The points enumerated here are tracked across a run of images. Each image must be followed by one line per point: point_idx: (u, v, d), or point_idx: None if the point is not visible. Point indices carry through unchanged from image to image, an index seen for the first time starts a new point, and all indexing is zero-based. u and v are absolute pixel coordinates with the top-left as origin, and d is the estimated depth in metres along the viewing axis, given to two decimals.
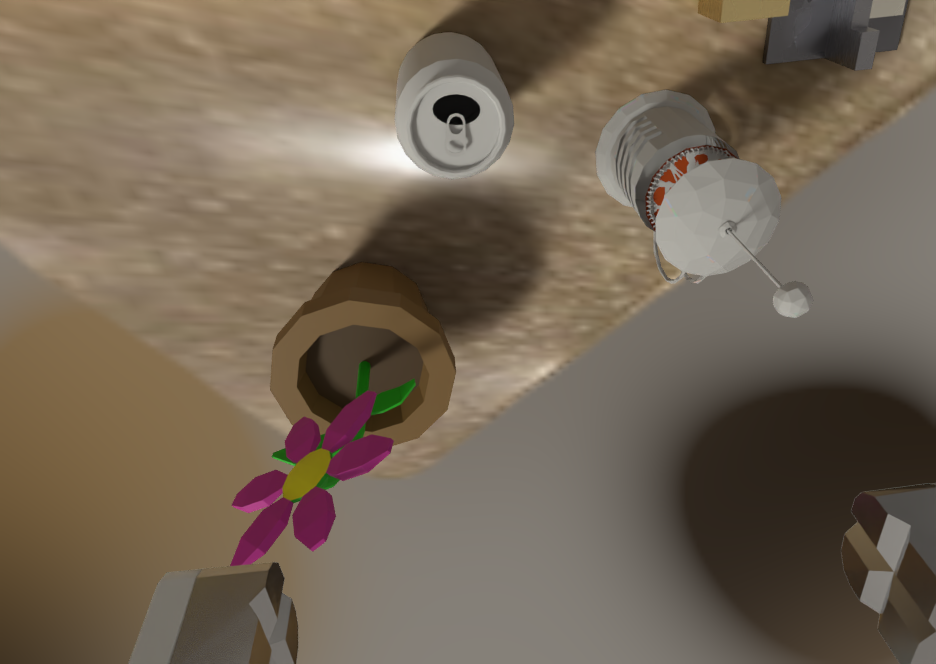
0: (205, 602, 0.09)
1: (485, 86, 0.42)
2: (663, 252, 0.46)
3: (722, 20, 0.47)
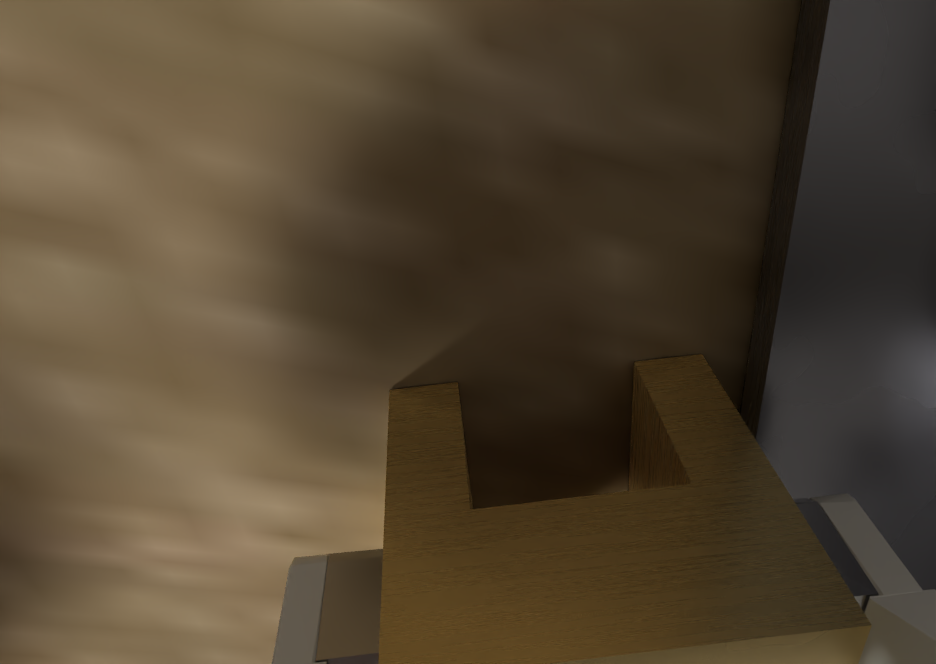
0: (341, 586, 0.09)
1: None
2: None
3: None
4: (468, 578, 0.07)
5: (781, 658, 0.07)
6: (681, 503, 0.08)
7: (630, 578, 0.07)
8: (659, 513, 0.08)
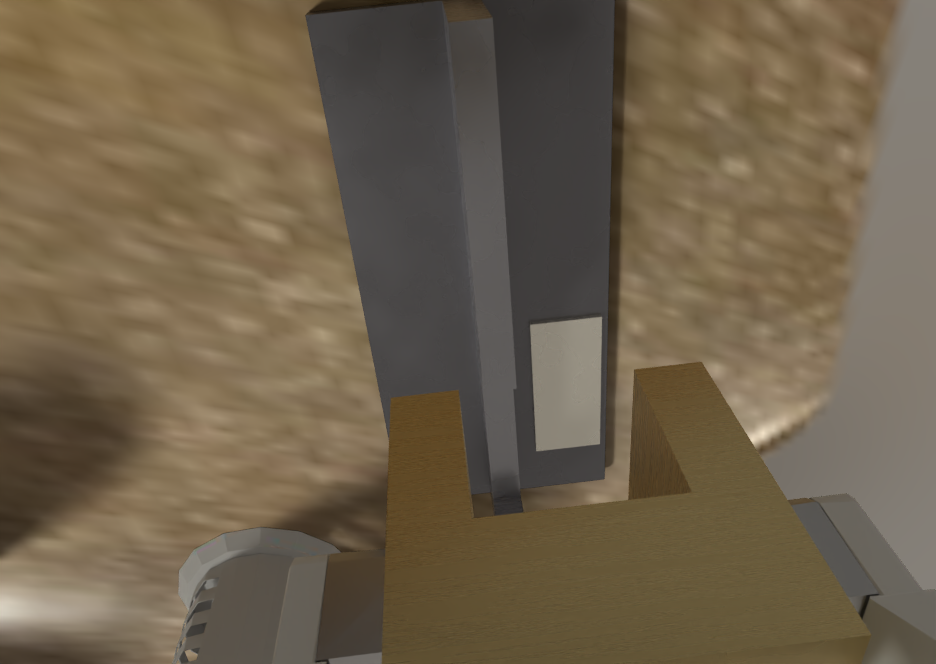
0: (341, 586, 0.09)
1: None
2: None
3: None
4: (470, 588, 0.07)
5: None
6: (681, 512, 0.08)
7: (631, 588, 0.07)
8: (660, 522, 0.08)
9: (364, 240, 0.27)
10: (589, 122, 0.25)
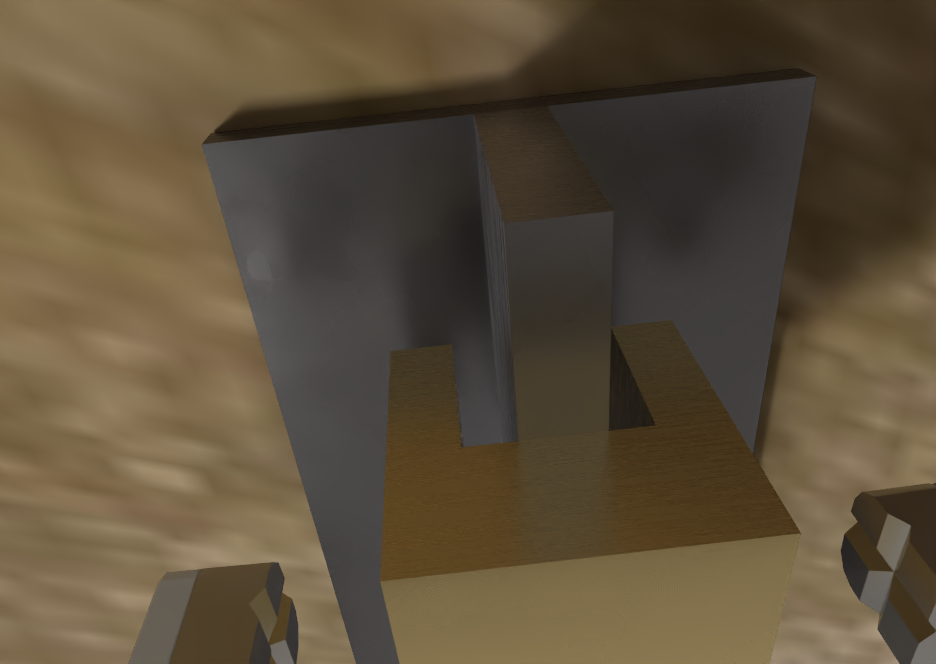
0: (205, 602, 0.09)
1: None
2: None
3: None
4: (458, 501, 0.09)
5: (725, 563, 0.08)
6: (645, 441, 0.09)
7: (598, 499, 0.08)
8: (626, 449, 0.09)
9: (332, 496, 0.16)
10: (736, 315, 0.14)
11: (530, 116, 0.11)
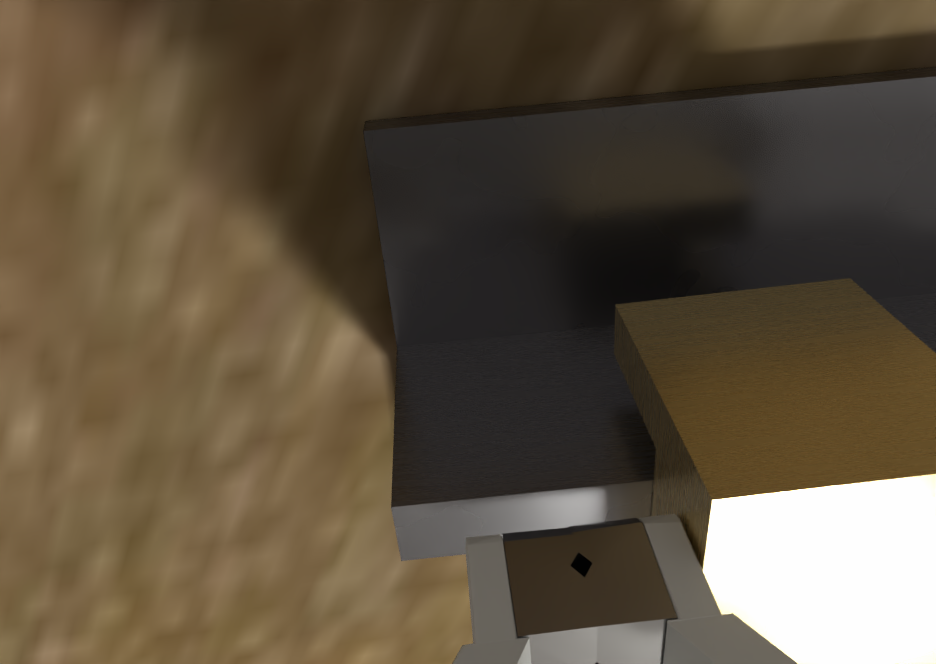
0: (524, 564, 0.09)
1: None
2: None
3: None
4: None
5: (735, 544, 0.08)
6: (660, 472, 0.10)
7: None
8: (662, 491, 0.10)
9: None
10: (620, 153, 0.12)
11: None
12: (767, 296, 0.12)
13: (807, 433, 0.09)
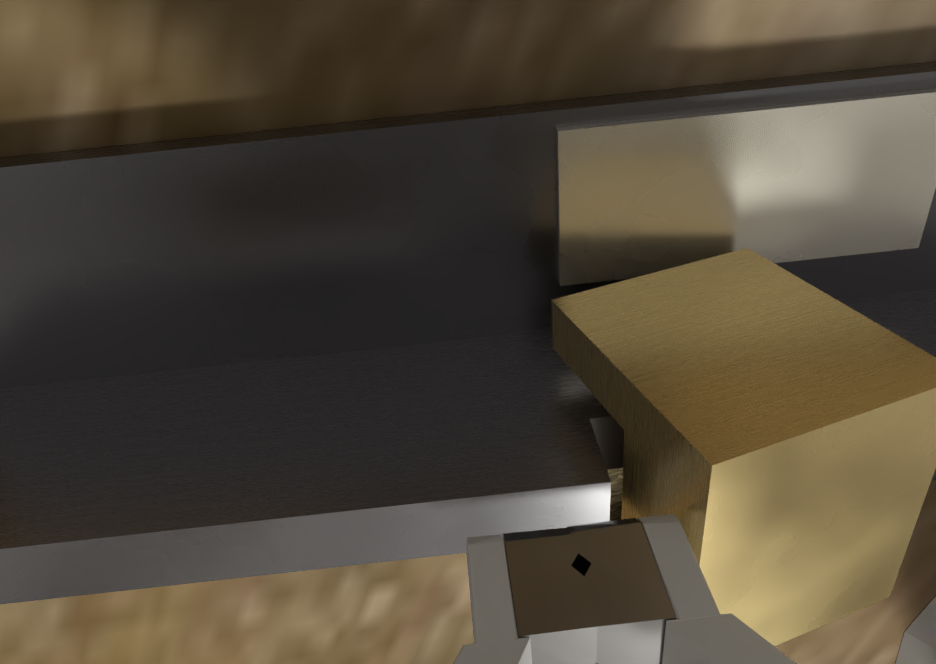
0: (525, 565, 0.09)
1: None
2: None
3: (883, 596, 0.12)
4: None
5: (730, 503, 0.09)
6: (633, 452, 0.11)
7: None
8: (637, 470, 0.11)
9: None
10: (98, 204, 0.12)
11: None
12: (684, 273, 0.12)
13: (768, 390, 0.10)
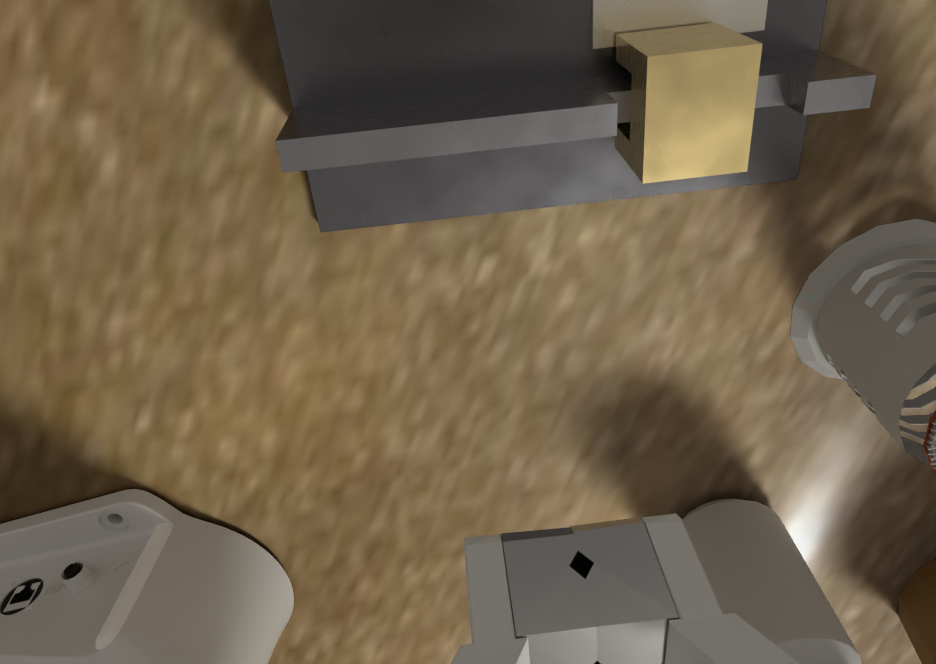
0: (523, 565, 0.09)
1: None
2: None
3: (743, 169, 0.27)
4: (636, 151, 0.27)
5: (656, 79, 0.25)
6: (633, 81, 0.26)
7: (639, 109, 0.26)
8: (634, 89, 0.26)
9: (493, 201, 0.32)
10: (385, 3, 0.27)
11: None
12: (679, 28, 0.28)
13: (683, 46, 0.25)
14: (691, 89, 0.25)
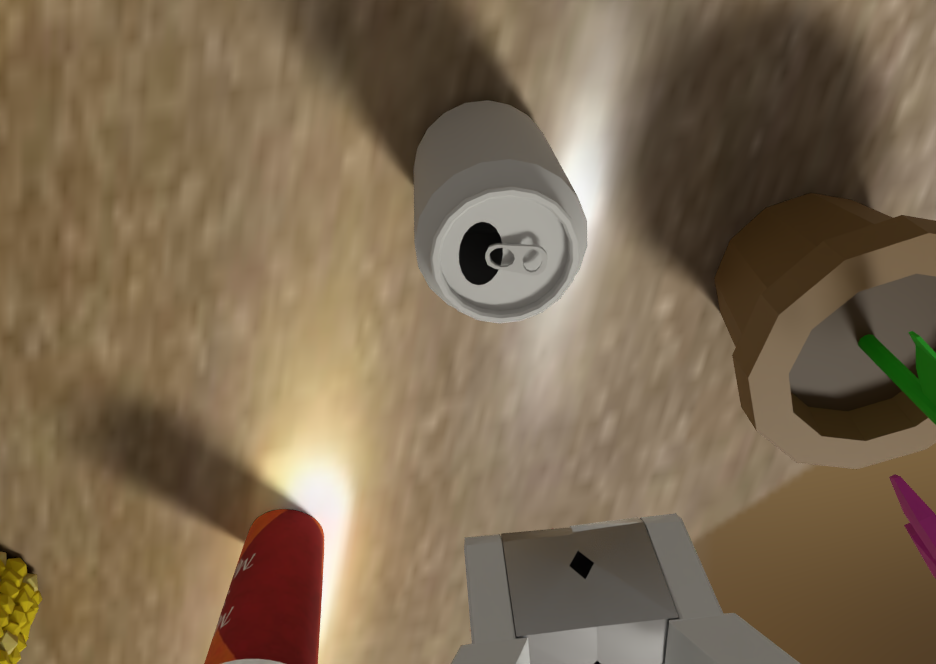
0: (522, 564, 0.09)
1: (445, 221, 0.28)
2: None
3: None
4: None
5: None
6: None
7: None
8: None
9: None
10: None
11: None
12: None
13: None
14: None
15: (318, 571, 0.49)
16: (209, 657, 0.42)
